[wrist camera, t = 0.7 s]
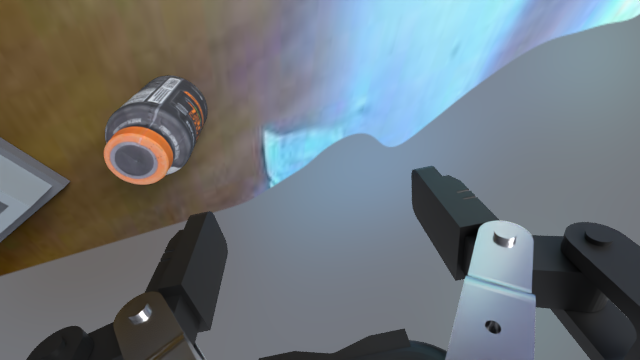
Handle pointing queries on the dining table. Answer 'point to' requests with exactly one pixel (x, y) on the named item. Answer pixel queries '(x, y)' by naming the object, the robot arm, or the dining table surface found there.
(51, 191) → the holder
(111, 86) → the dining table surface
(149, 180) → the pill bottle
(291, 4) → the dining table surface
